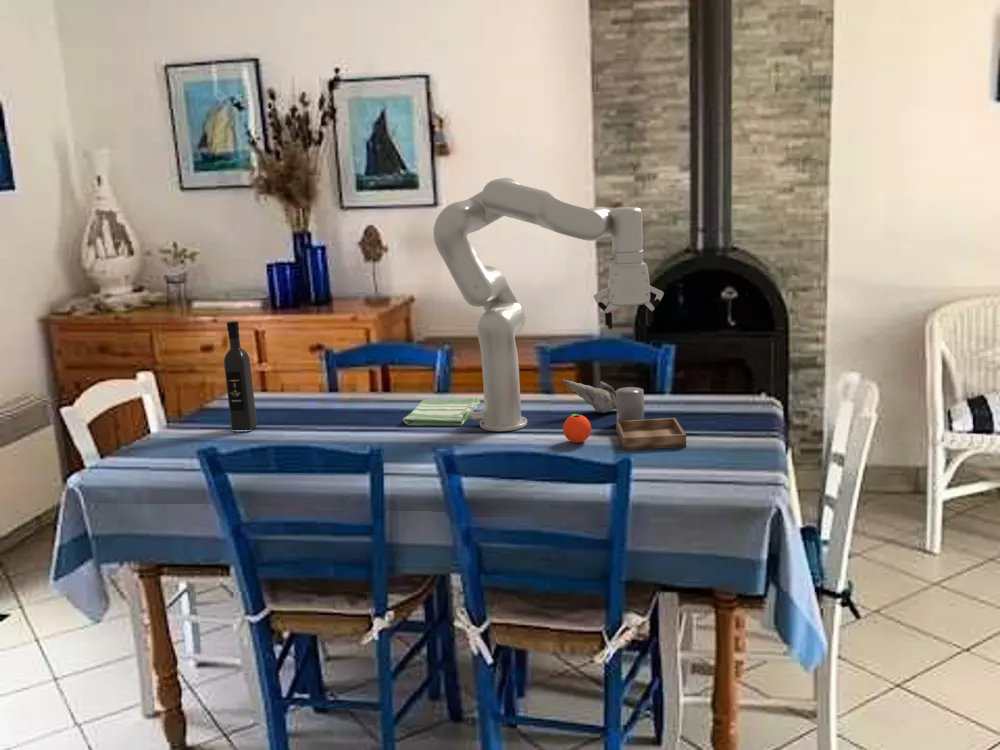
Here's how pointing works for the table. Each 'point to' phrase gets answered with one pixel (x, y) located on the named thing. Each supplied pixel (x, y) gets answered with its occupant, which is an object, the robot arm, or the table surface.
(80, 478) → the table surface
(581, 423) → the clementine
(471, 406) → the dish towel
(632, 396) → the grey rounded cylinder
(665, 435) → the walnut tray
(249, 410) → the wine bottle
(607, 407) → the seashell
